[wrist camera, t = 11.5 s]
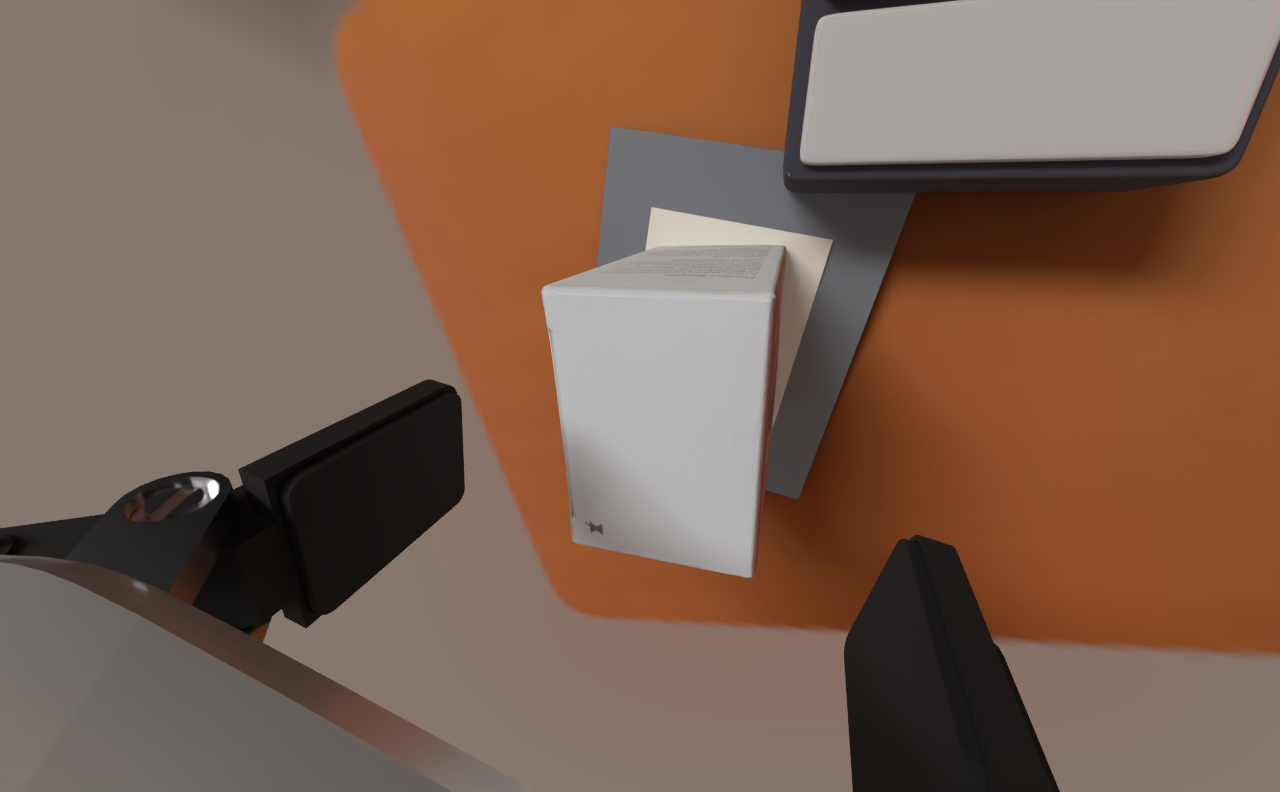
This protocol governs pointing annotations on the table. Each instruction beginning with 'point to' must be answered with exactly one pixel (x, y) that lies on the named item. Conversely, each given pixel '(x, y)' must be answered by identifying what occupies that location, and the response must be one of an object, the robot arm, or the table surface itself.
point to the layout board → (763, 215)
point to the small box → (669, 400)
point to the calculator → (1025, 93)
